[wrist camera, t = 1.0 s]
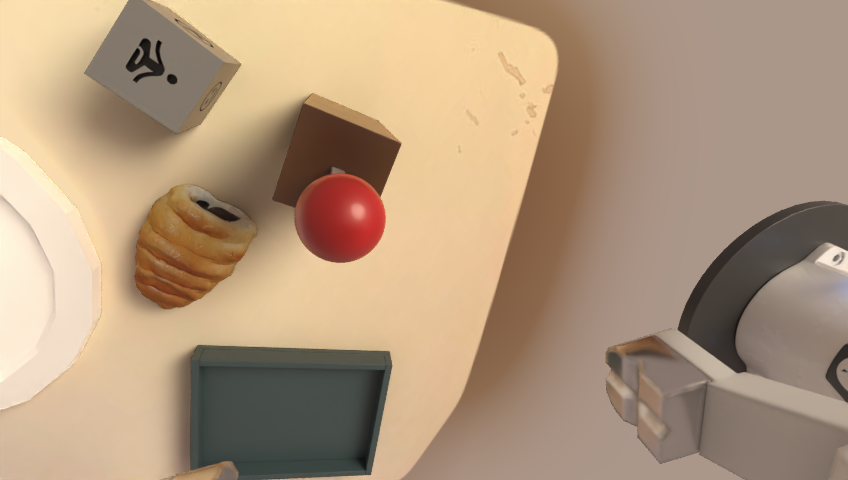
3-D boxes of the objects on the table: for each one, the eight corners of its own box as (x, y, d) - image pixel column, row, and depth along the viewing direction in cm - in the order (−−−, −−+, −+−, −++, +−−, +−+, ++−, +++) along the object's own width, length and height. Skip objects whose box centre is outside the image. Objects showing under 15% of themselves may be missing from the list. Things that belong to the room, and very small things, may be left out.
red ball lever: (378, 120, 31) (447, 186, 13) (355, 182, 32) (388, 321, 14) (312, 92, 29) (284, 122, 11) (290, 159, 31) (234, 282, 12)
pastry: (205, 312, 33) (191, 339, 30) (117, 273, 31) (90, 297, 28) (266, 219, 32) (257, 237, 28) (177, 170, 29) (156, 182, 26)
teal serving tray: (389, 351, 39) (392, 364, 37) (369, 458, 43) (371, 475, 41) (197, 344, 34) (190, 360, 33) (196, 464, 39) (190, 483, 37)
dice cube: (167, 7, 26) (133, -7, 21) (241, 64, 28) (224, 62, 23) (126, 73, 27) (83, 73, 22) (200, 124, 28) (176, 133, 24)
